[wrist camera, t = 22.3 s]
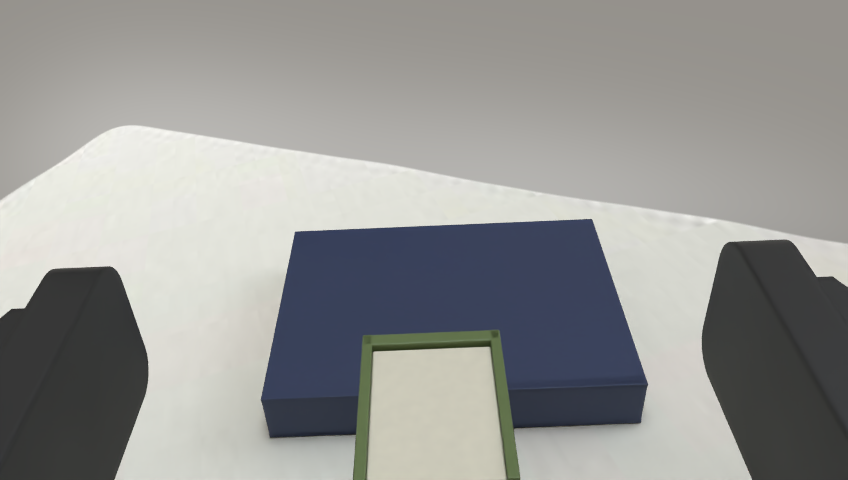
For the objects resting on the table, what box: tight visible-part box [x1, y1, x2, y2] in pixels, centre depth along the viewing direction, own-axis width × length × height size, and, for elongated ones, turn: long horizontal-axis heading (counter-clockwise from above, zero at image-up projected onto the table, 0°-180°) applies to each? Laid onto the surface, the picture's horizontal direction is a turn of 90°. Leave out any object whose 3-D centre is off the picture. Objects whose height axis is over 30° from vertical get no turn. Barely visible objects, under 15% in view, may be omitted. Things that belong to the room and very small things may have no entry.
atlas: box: [261, 219, 648, 437], centre depth 47 cm, size 20×15×3 cm
